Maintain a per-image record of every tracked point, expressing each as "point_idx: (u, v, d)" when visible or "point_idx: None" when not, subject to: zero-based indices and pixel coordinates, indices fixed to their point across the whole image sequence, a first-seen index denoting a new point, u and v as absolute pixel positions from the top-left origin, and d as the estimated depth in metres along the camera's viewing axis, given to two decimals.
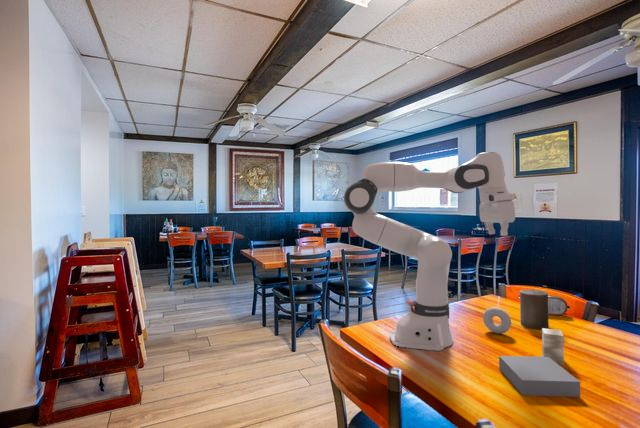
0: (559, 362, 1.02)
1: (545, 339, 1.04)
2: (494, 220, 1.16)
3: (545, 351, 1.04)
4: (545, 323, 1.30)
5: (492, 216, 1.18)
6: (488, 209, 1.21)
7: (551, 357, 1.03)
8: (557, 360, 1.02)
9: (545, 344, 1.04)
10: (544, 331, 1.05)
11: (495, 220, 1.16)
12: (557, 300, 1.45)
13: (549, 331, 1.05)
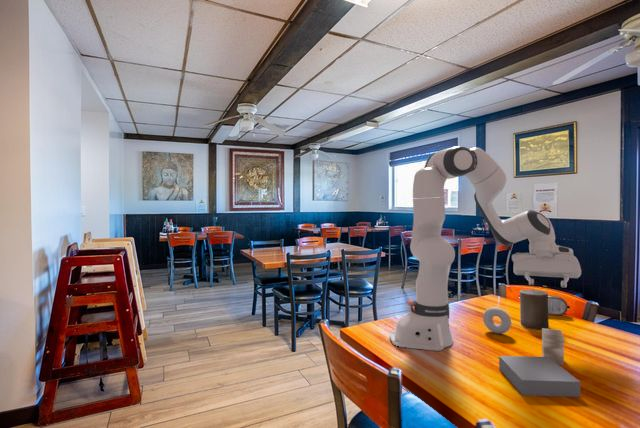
0: (559, 362, 1.02)
1: (545, 339, 1.04)
2: (555, 269, 1.16)
3: (545, 351, 1.04)
4: (545, 323, 1.30)
5: (550, 266, 1.18)
6: (539, 260, 1.21)
7: (551, 357, 1.03)
8: (557, 360, 1.02)
9: (545, 344, 1.04)
10: (544, 331, 1.05)
11: (557, 270, 1.16)
12: (557, 300, 1.45)
13: (549, 331, 1.05)
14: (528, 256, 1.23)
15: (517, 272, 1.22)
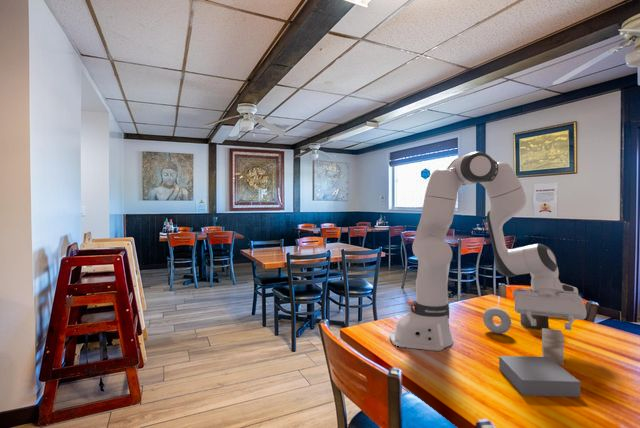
0: (559, 362, 1.02)
1: (545, 339, 1.04)
2: (559, 310, 1.10)
3: (545, 351, 1.04)
4: (545, 323, 1.30)
5: (553, 305, 1.11)
6: (542, 298, 1.14)
7: (551, 357, 1.03)
8: (557, 360, 1.02)
9: (545, 344, 1.04)
10: (544, 331, 1.05)
11: (561, 310, 1.09)
12: None
13: (549, 331, 1.05)
14: (530, 293, 1.17)
15: (518, 311, 1.16)
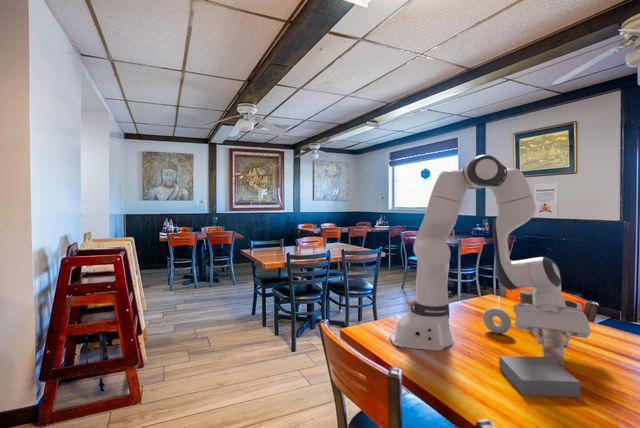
0: (559, 362, 1.02)
1: (545, 339, 1.04)
2: (562, 327, 1.05)
3: (545, 351, 1.04)
4: None
5: (555, 322, 1.07)
6: (544, 314, 1.10)
7: (551, 357, 1.03)
8: (557, 360, 1.02)
9: (545, 344, 1.04)
10: (544, 331, 1.05)
11: (564, 328, 1.05)
12: None
13: (549, 331, 1.05)
14: (531, 309, 1.12)
15: (519, 327, 1.11)
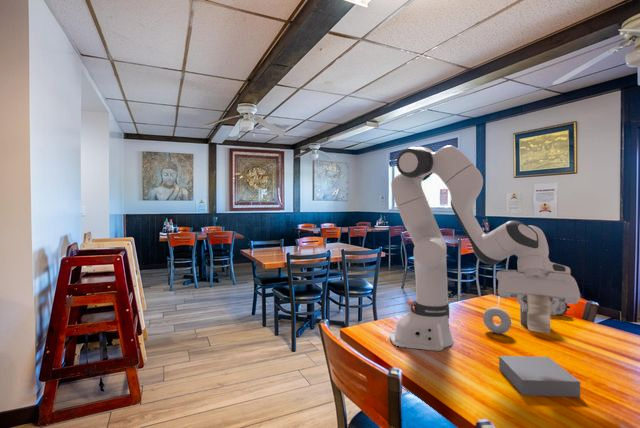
0: (545, 330, 0.91)
1: (530, 305, 0.93)
2: (549, 293, 0.94)
3: (530, 318, 0.93)
4: None
5: (542, 288, 0.96)
6: (529, 280, 0.99)
7: (536, 325, 0.92)
8: (543, 328, 0.92)
9: (530, 310, 0.93)
10: (529, 296, 0.94)
11: (551, 293, 0.94)
12: None
13: (534, 297, 0.94)
14: (516, 274, 1.01)
15: (502, 294, 1.00)
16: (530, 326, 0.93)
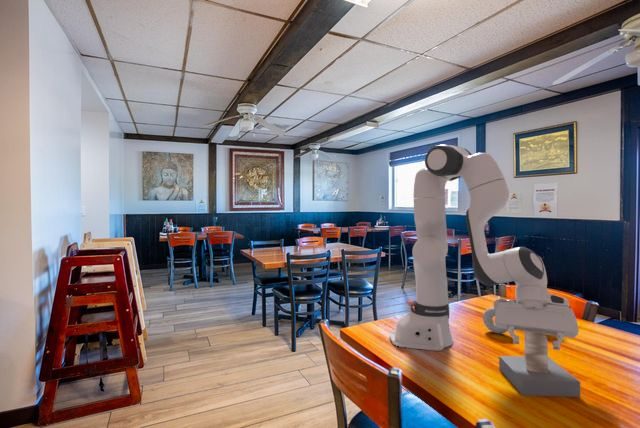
0: (543, 370, 0.89)
1: (527, 344, 0.91)
2: (546, 326, 0.92)
3: (527, 358, 0.91)
4: None
5: (539, 320, 0.94)
6: (527, 311, 0.97)
7: (534, 365, 0.90)
8: (540, 369, 0.90)
9: (527, 350, 0.91)
10: (526, 335, 0.93)
11: (549, 326, 0.92)
12: None
13: (532, 335, 0.92)
14: (513, 305, 0.99)
15: (499, 325, 0.99)
16: (527, 366, 0.91)
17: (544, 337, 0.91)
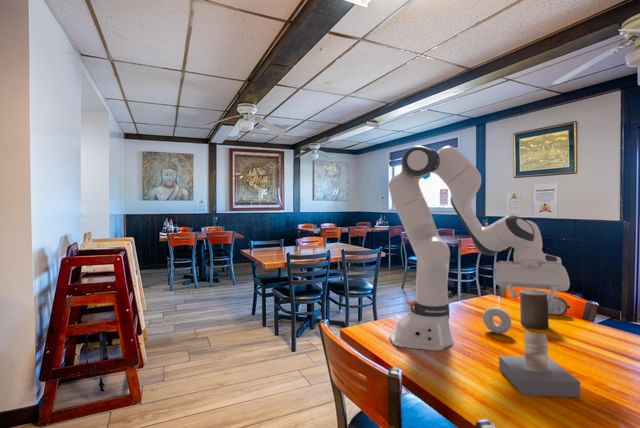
0: (543, 370, 0.89)
1: (527, 344, 0.91)
2: (541, 281, 1.04)
3: (527, 358, 0.91)
4: (545, 323, 1.30)
5: (535, 276, 1.05)
6: (524, 270, 1.08)
7: (534, 365, 0.90)
8: (540, 369, 0.90)
9: (527, 350, 0.91)
10: (526, 335, 0.93)
11: (543, 281, 1.03)
12: (557, 300, 1.45)
13: (532, 335, 0.92)
14: (512, 265, 1.11)
15: (499, 283, 1.10)
16: (527, 366, 0.91)
17: (544, 337, 0.91)
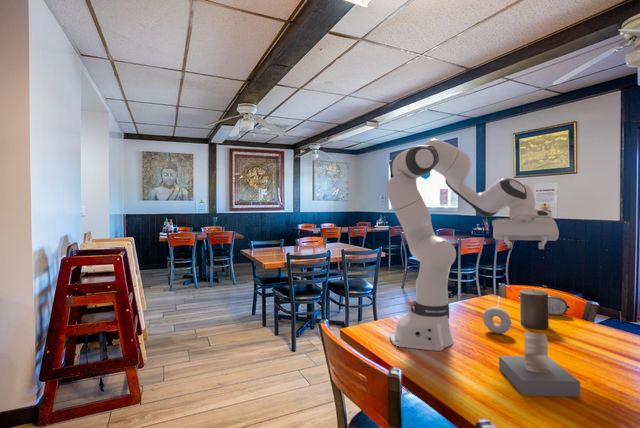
0: (543, 370, 0.89)
1: (527, 344, 0.91)
2: (534, 232, 1.17)
3: (527, 358, 0.91)
4: (545, 323, 1.30)
5: (528, 229, 1.18)
6: (518, 224, 1.21)
7: (534, 365, 0.90)
8: (540, 369, 0.90)
9: (527, 350, 0.91)
10: (526, 335, 0.93)
11: (535, 232, 1.16)
12: (557, 300, 1.45)
13: (532, 335, 0.92)
14: (508, 221, 1.24)
15: (496, 237, 1.23)
16: (527, 366, 0.91)
17: (544, 337, 0.91)
